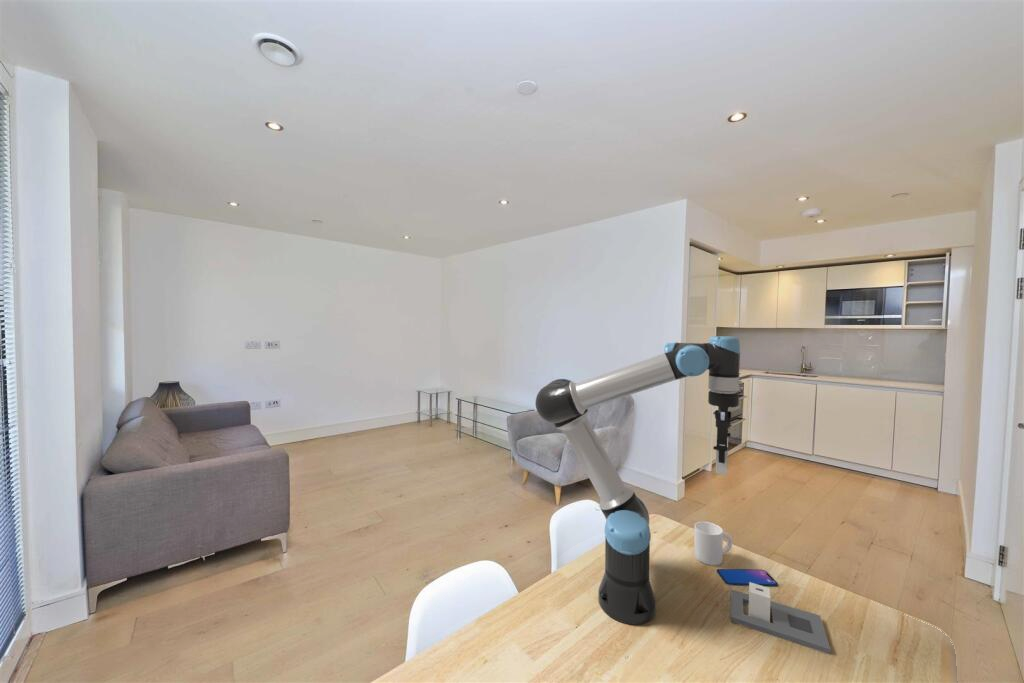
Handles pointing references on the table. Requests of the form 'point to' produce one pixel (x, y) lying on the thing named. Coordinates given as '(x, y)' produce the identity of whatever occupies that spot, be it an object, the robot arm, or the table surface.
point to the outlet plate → (783, 623)
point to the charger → (759, 602)
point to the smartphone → (746, 577)
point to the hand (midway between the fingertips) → (721, 465)
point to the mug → (710, 543)
